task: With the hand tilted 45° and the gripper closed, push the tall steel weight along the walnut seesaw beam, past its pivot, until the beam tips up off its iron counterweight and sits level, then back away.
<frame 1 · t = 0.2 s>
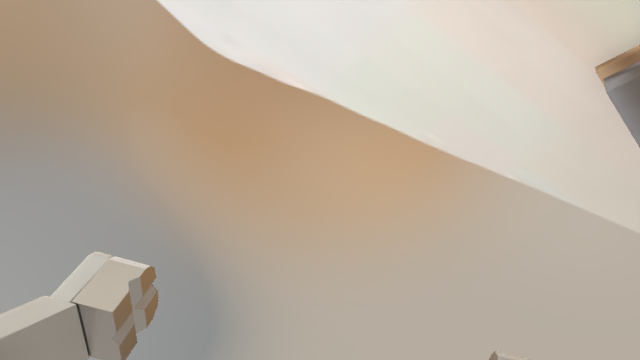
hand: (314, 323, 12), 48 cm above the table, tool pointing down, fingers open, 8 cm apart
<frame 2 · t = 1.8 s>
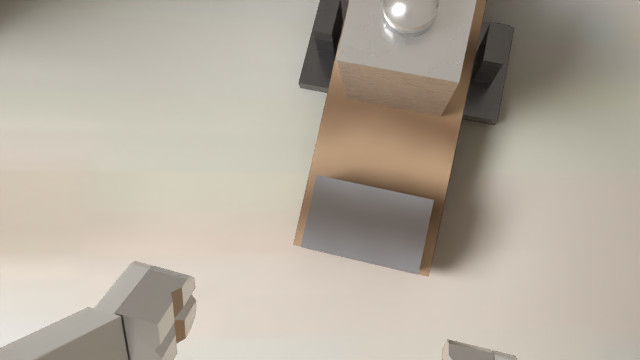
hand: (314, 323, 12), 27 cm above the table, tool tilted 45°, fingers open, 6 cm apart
fulcrum: (404, 60, 42), on the table
beam: (409, 30, 37), point 5 cm above the table, hinge at -7.3°, touching steel weight
steel weight: (403, 61, 38), point 4 cm above the table, tilted 7°, touching beam
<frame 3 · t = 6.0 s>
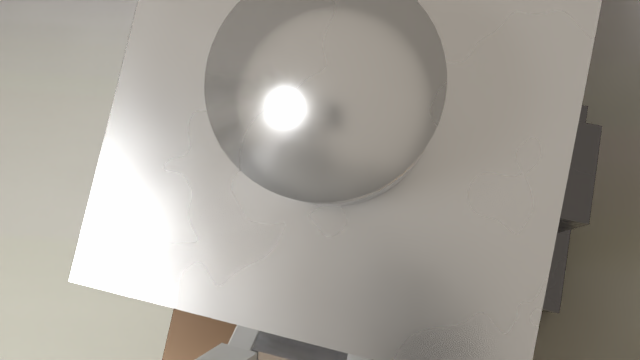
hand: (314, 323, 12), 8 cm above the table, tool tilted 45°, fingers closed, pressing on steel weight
fulcrum: (364, 169, 21), on the table
beam: (362, 135, 16), point 5 cm above the table, hinge at -7.2°, touching steel weight
steel weight: (358, 169, 17), point 4 cm above the table, tilted 7°, touching beam, gripper
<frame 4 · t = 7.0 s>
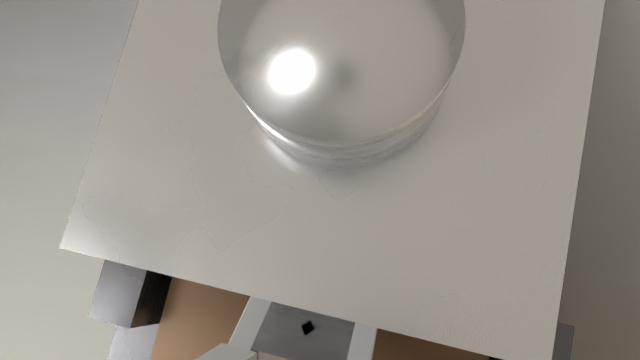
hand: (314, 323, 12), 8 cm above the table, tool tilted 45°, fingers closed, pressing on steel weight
fulcrum: (332, 312, 20), on the table
beam: (320, 322, 15), point 5 cm above the table, hinge at -0.4°
steel weight: (357, 184, 16), point 5 cm above the table, touching gripper
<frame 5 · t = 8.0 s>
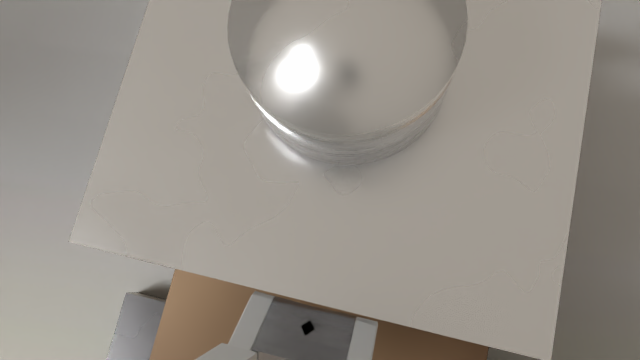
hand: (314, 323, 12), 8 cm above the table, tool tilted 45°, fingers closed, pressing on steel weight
steel weight: (357, 189, 17), point 4 cm above the table, touching gripper
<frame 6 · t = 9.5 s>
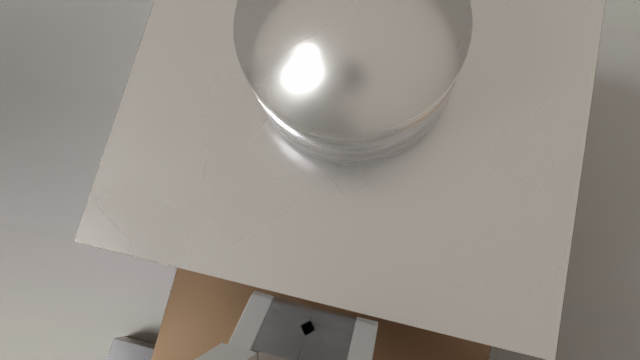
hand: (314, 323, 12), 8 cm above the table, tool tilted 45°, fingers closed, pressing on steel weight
steel weight: (360, 189, 17), point 4 cm above the table, touching beam, gripper
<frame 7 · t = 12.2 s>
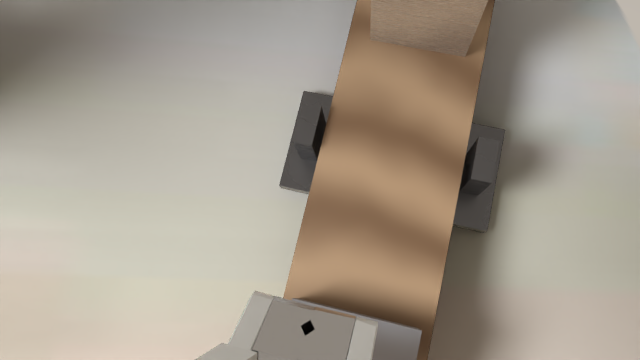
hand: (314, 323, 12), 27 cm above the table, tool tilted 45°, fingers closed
fulcrum: (390, 161, 41), on the table
beam: (394, 141, 35), point 5 cm above the table, hinge at 0.8°, touching steel weight
steel weight: (426, 6, 38), point 4 cm above the table, touching beam
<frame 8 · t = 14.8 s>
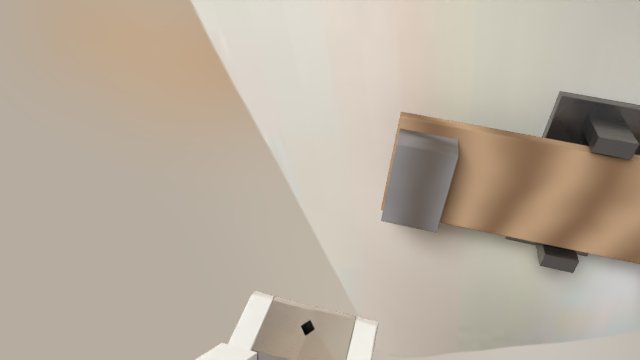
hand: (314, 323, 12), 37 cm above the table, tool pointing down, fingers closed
fulcrum: (573, 177, 48), on the table
beam: (585, 210, 44), point 5 cm above the table, hinge at 0.8°, touching steel weight
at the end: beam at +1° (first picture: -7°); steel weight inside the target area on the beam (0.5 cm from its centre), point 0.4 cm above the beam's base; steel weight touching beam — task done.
